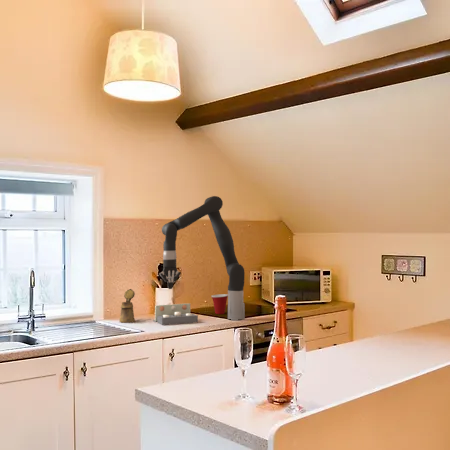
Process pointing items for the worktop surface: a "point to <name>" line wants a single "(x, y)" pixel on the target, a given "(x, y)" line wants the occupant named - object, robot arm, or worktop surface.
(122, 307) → the brown tapered piece
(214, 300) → the plastic cup
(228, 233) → the robot arm
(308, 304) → the worktop surface
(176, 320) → the button board
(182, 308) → the pattern card
